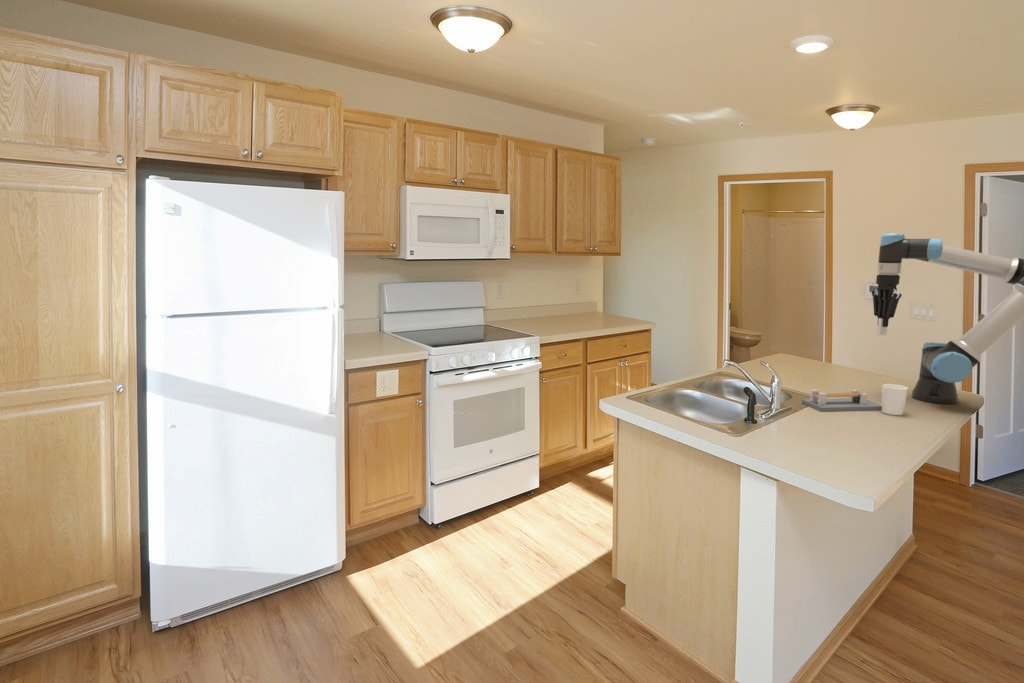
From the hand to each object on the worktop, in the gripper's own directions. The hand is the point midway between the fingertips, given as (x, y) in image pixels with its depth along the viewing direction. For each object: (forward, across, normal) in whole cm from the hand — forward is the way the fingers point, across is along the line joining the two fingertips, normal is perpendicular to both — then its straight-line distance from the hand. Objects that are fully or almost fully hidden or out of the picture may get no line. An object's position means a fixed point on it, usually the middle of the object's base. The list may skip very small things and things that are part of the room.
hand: (881, 334), depth 226 cm
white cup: (+27, +17, -6) cm, 32 cm away
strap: (+22, +8, -20) cm, 31 cm away
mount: (+26, +8, -19) cm, 33 cm away
